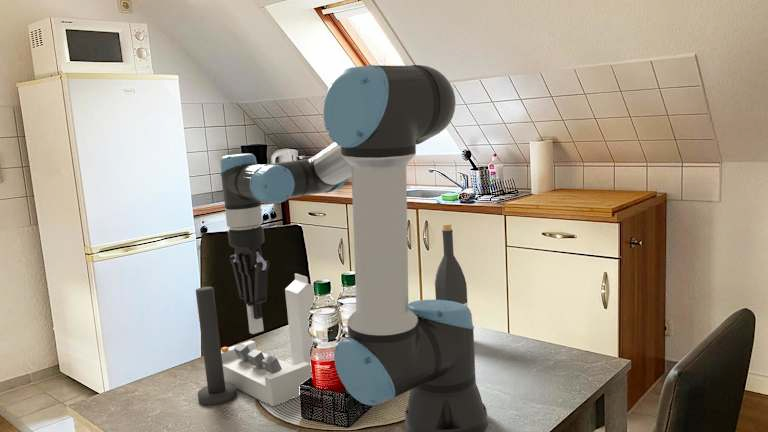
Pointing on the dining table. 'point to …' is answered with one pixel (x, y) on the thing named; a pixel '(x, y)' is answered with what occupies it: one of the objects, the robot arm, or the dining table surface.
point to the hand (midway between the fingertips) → (256, 331)
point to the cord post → (212, 352)
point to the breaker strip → (263, 377)
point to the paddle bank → (257, 358)
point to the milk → (299, 318)
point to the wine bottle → (450, 273)
